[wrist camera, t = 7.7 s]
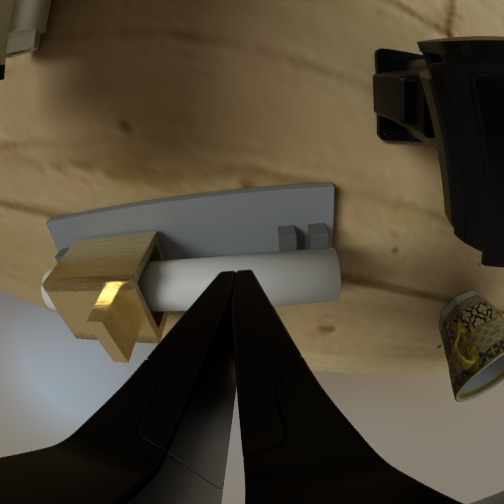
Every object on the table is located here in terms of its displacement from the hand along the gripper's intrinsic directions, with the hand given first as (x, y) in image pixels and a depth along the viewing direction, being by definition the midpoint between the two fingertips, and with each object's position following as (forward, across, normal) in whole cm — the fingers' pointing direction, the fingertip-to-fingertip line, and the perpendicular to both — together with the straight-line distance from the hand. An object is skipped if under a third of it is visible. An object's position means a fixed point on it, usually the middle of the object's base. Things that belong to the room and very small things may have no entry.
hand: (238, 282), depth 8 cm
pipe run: (+13, +6, +7) cm, 16 cm away
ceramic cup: (+13, -22, +18) cm, 31 cm away
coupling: (+12, +11, +7) cm, 18 cm away
